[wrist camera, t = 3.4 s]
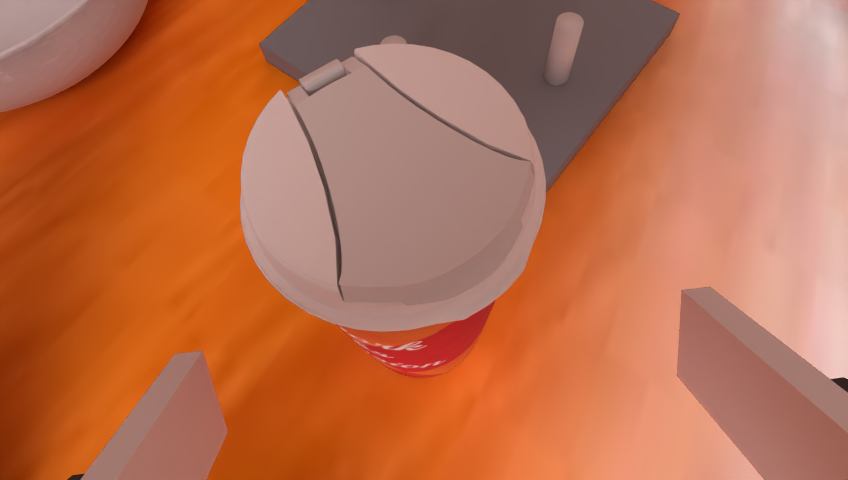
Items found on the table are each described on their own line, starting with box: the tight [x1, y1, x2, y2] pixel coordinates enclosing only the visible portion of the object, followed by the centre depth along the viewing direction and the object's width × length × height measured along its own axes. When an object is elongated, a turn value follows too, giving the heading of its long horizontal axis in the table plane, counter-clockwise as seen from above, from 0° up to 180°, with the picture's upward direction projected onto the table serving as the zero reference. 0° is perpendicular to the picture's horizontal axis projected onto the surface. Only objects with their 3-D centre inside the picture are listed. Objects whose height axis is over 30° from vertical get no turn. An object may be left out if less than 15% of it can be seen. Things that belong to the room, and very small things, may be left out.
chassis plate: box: [259, 0, 680, 192], centre depth 31 cm, size 20×17×6 cm
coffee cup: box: [240, 44, 546, 378], centre depth 19 cm, size 8×8×15 cm
